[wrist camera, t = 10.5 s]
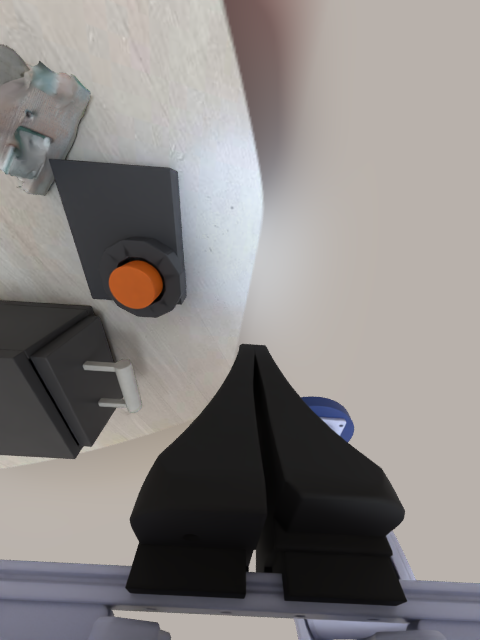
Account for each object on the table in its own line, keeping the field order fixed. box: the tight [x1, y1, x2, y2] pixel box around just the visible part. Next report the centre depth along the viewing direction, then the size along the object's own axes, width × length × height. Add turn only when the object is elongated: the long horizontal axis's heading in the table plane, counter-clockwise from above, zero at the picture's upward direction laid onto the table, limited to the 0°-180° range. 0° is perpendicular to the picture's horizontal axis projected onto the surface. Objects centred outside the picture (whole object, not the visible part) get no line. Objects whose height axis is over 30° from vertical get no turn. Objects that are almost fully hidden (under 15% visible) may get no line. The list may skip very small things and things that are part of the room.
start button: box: [109, 260, 163, 309], centre depth 15 cm, size 3×3×2 cm
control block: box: [49, 159, 186, 318], centre depth 16 cm, size 10×8×4 cm
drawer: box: [28, 316, 142, 447], centre depth 20 cm, size 18×11×6 cm, turn 86°
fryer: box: [0, 300, 94, 459], centre depth 20 cm, size 15×13×8 cm
